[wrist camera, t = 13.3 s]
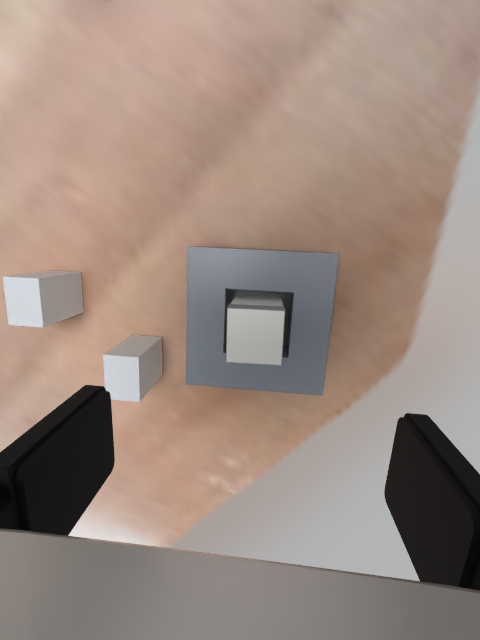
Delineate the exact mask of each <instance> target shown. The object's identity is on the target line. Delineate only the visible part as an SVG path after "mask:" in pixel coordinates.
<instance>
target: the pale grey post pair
mask: <svg viewBox="0 0 480 640" xmlns="http://www.w3.org/2000/svg"><path fill="white" fill-rule="evenodd" d="M3 283H4V291H5V299H6V307H7V315H8V323H9V325H18V326H32V327H45V326H48V325H51V324H53V323H56V322H59V321H61V320H64V319H67V318H70V317H72V316H75V315H78V314H80V313H83V312H84V308H83V293H82V279H81V272H71V271H53V270H51V271H43V272H35V273H27V274H19V275H10V276H3ZM103 360H104V378H105V389H106V391H109V392H110V396H111V400H123V401H135V402H140V401H141V400H142V399H143V397H144V396H145V395H146V394H147V392H148V391H149V390H150V389H151V388H152V386H153V385H154V384H155V383H156V381H157V380H158V379H159V378H160V376H161V375H162V337H157V336H143V335H132V336H130V337H129V338H127V339H126V340H124V341H123V342H121V343H120V344H118V345H117V346H115V347H114V348H112V349H111V350H109V351H108V352H107V353H105V354H104V355H103Z"/></svg>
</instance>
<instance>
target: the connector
mask: <svg viewBox="0 0 480 640" xmlns="http://www.w3.org/2000/svg"><path fill="white" fill-rule="evenodd" d="M284 323H285V307H284V306H283V302H282V298H281V296H279V295H256V294H236V296H235V298H234V299H233V301H232V302H231V304H229V305H228V307H227V335H226V362H233V363H250V364H267V365H282V354H283V339H284Z"/></svg>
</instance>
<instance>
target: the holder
mask: <svg viewBox="0 0 480 640" xmlns="http://www.w3.org/2000/svg"><path fill="white" fill-rule="evenodd" d="M338 259H339V254H334V253H323V252H303V251H282V250H262V249H242V248H222V247H202V246H193V247H187V362H186V384H188V385H201V386H213V387H225V388H237V389H250V390H262V391H274V392H287V393H299V394H311V395H323V387H324V379H325V370H326V361H327V353H328V344H329V336H330V327H331V319H332V310H333V301H334V293H335V284H336V276H337V267H338ZM236 294H256V295H279V296H281V298H282V302H283V306H284V307H285V323H284V339H283V354H282V365H267V364H250V363H233V362H226V335H227V307H228V305H229V304H231V302H232V301H233V299H234V298H235V296H236Z"/></svg>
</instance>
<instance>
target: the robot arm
mask: <svg viewBox="0 0 480 640" xmlns="http://www.w3.org/2000/svg"><path fill="white" fill-rule="evenodd" d="M113 467H114V443H113V427H112V411H111V396H110V392H109V391H106V389H105V387H103V386H92V385H85V386H84V387H82V388H81V389H80V390H79V391H77V392H76V393H75V394H73V395H72V396H71V397H70V398H68V399H67V400H66V401H65V402H63V403H62V404H61V405H60V406H58V407H57V408H56V409H55V410H53V411H52V412H51V413H49V414H48V415H47V416H46V417H44V418H43V419H42V420H41V421H39V422H38V423H37V424H36V425H34V426H33V427H32V428H30V429H29V430H28V431H27V432H25V433H24V434H23V435H22V436H20V437H19V438H18V439H17V440H15V441H14V442H13V443H12V444H10V445H9V446H8V447H6V448H5V449H4V450H3V451H1V452H0V640H480V474H479V473H478V472H477V471H476V470H475V469H474V468H473V466H472V465H471V464H470V463H469V462H468V461H467V459H466V458H465V457H464V456H463V455H462V454H461V453H460V452H459V450H458V449H457V448H456V447H455V446H454V445H453V444H452V442H451V441H450V440H449V439H448V438H447V437H446V436H445V434H444V433H443V432H442V431H441V430H440V429H439V428H438V426H437V425H436V424H435V423H434V422H433V421H432V420H431V419H430V417H428V416H427V415H421V414H410V413H407V414H405V416H404V418H402V417H401V418H399V420H398V422H397V428H396V433H395V438H394V443H393V449H392V454H391V459H390V464H389V470H388V476H387V480H386V485H385V499H386V503H387V505H388V508H389V510H390V512H391V515H392V517H393V519H394V521H395V524H396V526H397V529H398V531H399V533H400V535H401V538H402V540H403V542H404V545H405V547H406V549H407V552H408V554H409V556H410V559H411V561H412V563H413V566H414V568H415V570H416V573H417V575H418V577H419V579H420V581H413V580H406V579H399V578H392V577H384V576H377V575H369V574H362V573H355V572H347V571H339V570H332V569H324V568H317V567H310V566H302V565H295V564H287V563H280V562H272V561H265V560H256V559H249V558H242V557H233V556H226V555H218V554H211V553H203V552H195V551H187V550H179V549H171V548H163V547H155V546H147V545H139V544H131V543H122V542H114V541H106V540H98V539H89V538H81V537H73V536H68V535H69V533H70V532H71V530H72V529H73V527H74V526H75V524H76V523H77V522H78V520H79V519H80V517H81V516H82V514H83V513H84V511H85V510H86V508H87V507H88V505H89V504H90V503H91V501H92V500H93V498H94V497H95V495H96V494H97V492H98V491H99V489H100V488H101V486H102V485H103V484H104V482H105V481H106V479H107V478H108V476H109V475H110V473H111V472H112V470H113Z"/></svg>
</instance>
